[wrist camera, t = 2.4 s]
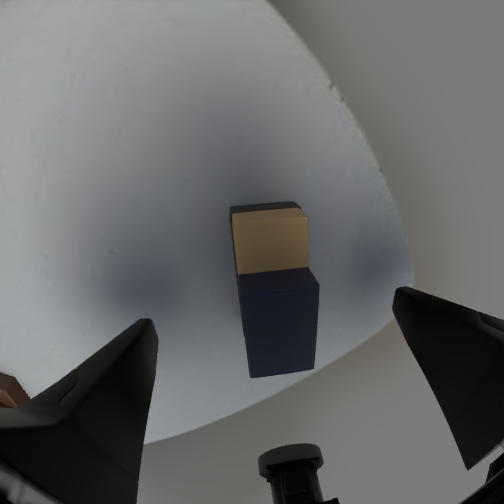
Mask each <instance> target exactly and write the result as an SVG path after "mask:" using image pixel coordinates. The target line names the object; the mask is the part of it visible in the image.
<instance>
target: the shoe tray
mask: <svg viewBox="0 0 504 504" xmlns="http://www.w3.org/2000/svg"><path fill="white" fill-rule="evenodd" d="M29 400H30V398H29V397H28V396H27V394H26V393H25V392H24V390H23V389H22V388H21V386H20V385H19V384H18V382H17V381H16V379H15V378H14V377H11V376H7V375H4V374H1V373H0V407H2V408H14V407H18V406H20V405H22V404H24V403H26V402H27V401H29Z"/></svg>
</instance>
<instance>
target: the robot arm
mask: <svg viewBox="0 0 504 504" xmlns="http://www.w3.org/2000/svg"><path fill="white" fill-rule="evenodd" d="M392 310H393V313H394V315H395V318H396V320H397V322H398V324H399V326H400V329H401V331H402V333H403V335H404V337H405V340H406V342H407V344H408V346H409V347H410V349H411V351H412V353H413V354H414V356H415V358H416V360H417V362H418V364H419V366H420V367H421V369H422V371H423V373H424V375H425V377H426V379H427V381H428V382H429V385H430V387H431V389H432V391H433V393H434V395H435V397H436V399H437V401H438V403H439V405H440V407H441V409H442V411H443V413H444V416H445V418H446V420H447V422H448V425H449V426H450V429H451V432H452V434H453V436H454V439H455V441H456V444H457V446H458V449H459V451H460V454H461V456H462V459H463V462H464V464H465V467H466V469H467V470H470V469H471V468H472V467H474V466H475V465H476V464H478V463H479V462H480V461H482V460H483V459H484V458H486V457H487V456H488V455H489V454H491V453H492V452H493V451H494V450H496V449H497V448H498V447H499V446H500V445H501V447H502V448H503V450H504V320H502V319H499V318H496V317H493V316H490V315H487V314H484V313H481V312H477V311H476V310H473V309H470V308H467V307H464V306H462V305H459V304H456V303H453V302H450V301H447V300H445V299H442V298H439V297H436V296H433V295H430V294H427V293H424V292H421V291H418V290H415V289H413V288H410V287H407V286H404V287H399V288H397V289H396V291H395V295H394V301H393V306H392ZM157 353H158V336H157V333H156V330H155V327H154V324H153V321H152V320H151V319H150V318H146V319H139V320H138V321H137V322H135V323H134V324H133V325H131V326H130V327H129V328H127V329H126V330H125V331H123V332H122V333H121V334H119V335H118V336H117V337H115V338H114V339H113V340H111V341H110V342H109V343H108V344H106V345H105V346H104V347H102V348H101V349H100V350H98V351H97V352H96V353H94V354H93V355H92V356H91V357H89V358H88V359H87V360H85V361H84V362H83V363H81V364H80V365H79V366H78V367H77V368H76V369H74V370H72V371H71V372H70V373H69V374H67V375H66V376H65V377H63V378H62V379H60V380H59V381H58V382H56V383H55V384H53V385H52V386H50V387H49V388H47V389H46V390H44V391H43V392H41V393H40V394H38V395H37V396H35V397H34V398H32V399H31V400H29V401H27V402H26V403H24V404H22V405H20V406H18V407H14V408H2V407H0V504H136V502H137V492H138V481H139V472H140V464H141V458H142V451H143V444H144V437H145V431H146V425H147V419H148V413H149V408H150V402H151V397H152V392H153V387H154V382H155V375H156V363H157ZM320 461H321V459H320V457H314V458H310V459H304V460H299V461H293V462H287V463H280V464H273V465H267V466H265V472H266V479H267V482H268V483H271V490H272V497H273V504H339V501H338V498H333V499H332V500H328V501H323V497H322V492H321V488H320V484H319V480H318V476H317V470H318V467H319V464H320ZM458 504H504V453H503V454H502V455H500V457H498V458H497V459H496V460H495V461H494V462H493V463H491V464H490V467H489V471H488V475H487V479H486V482H485V484H484V485H483V486H482V487H480V488H479V489H478V490H476V491H475V492H474V493H472V494H471V495H470V496H468V497H467V498H466V499H464V500H462V501H461V502H460V503H458Z"/></svg>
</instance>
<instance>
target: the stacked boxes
mask: <svg viewBox="0 0 504 504" xmlns="http://www.w3.org/2000/svg"><path fill="white" fill-rule="evenodd" d="M229 215H230V224H231V233H232V242H233V251H234V260H235V268H236V277H237V285H238V293H239V301H240V309H241V317H242V325H243V333H244V337H245V344H246V352H247V359H248V367H249V374H250V377H251V378H257V377H266V376H273V375H281V374H288V373H294V372H300V371H306V370H312V369H314V362H315V351H316V338H317V324H318V307H319V284H318V282H317V281H316V279H315V277H314V276H313V274H312V272H311V271H310V269H309V231H308V216H307V215H306V214H305V213H304V212H303V211H302V210H301V207H300V206H299V205H298V204H296V203H295V202H294V201H292V202H279V203H267V204H256V205H246V206H236V207H230V213H229Z"/></svg>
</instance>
